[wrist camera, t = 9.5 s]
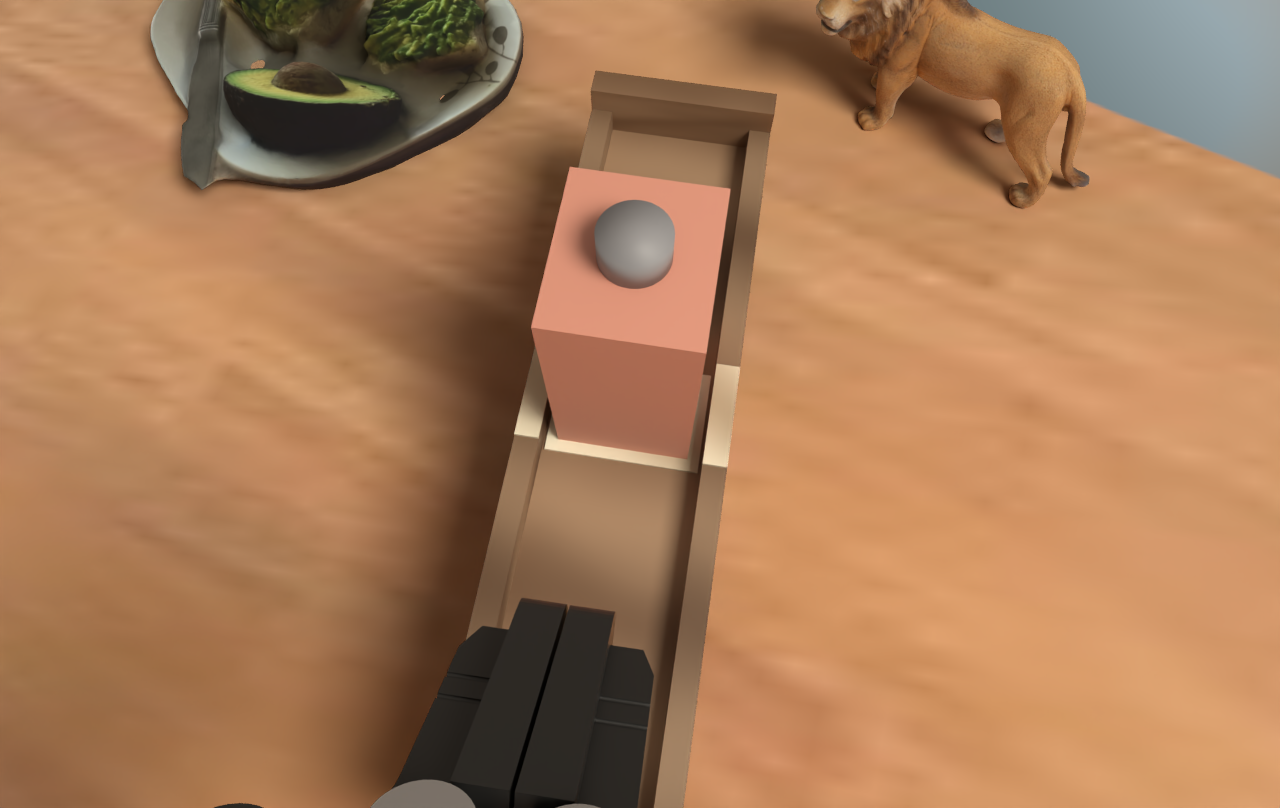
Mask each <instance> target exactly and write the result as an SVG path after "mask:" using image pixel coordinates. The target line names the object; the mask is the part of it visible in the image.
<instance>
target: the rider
mask: <svg viewBox="0 0 1280 808" xmlns="http://www.w3.org/2000/svg"><path fill="white" fill-rule="evenodd" d="M730 190H731V189H728V188H721V187H714V186H706V185H699V184H692V183H685V182H677V181H670V180H663V179H656V178H648V177H641V176H634V175H626V174H619V173H612V172H605V171H597V170H590V169H583V168H575V167H570V169H569V173H568V177H567V181H566V185H565V189H564V193H563V198H562V202H561V206H560V210H559V214H558V218H557V222H556V226H555V231H554V235H553V239H552V243H551V247H550V251H549V255H548V259H547V263H546V268H545V272H544V276H543V280H542V284H541V288H540V292H539V296H538V301H537V305H536V309H535V313H534V317H533V321H532V325H531V330H532V334H533V338H534V342H535V346H536V350H537V354H538V358H539V362H540V366H541V370H542V374H543V379H544V383H545V387H546V391H547V395H548V399H549V403H550V407H551V411H552V415H553V419H554V423H555V428H556V432H557V436H558V439H560V440H566V441H573V442H579V443H585V444H592V445H598V446H605V447H611V448H617V449H624V450H630V451H637V452H643V453H649V454H656V455H662V456H668V457H675V458H681V459H687V457H688V452H689V446H690V441H691V435H692V430H693V424H694V419H695V413H696V408H697V402H698V397H699V391H700V386H701V380H702V375H703V369H704V364H705V358H706V353H707V346H708V339H709V332H710V326H711V319H712V312H713V305H714V299H715V292H716V285H717V278H718V271H719V265H720V258H721V251H722V244H723V237H724V231H725V224H726V217H727V210H728V204H729V197H730Z"/></svg>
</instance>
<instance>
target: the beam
mask: <svg viewBox="0 0 1280 808" xmlns="http://www.w3.org/2000/svg"><path fill="white" fill-rule="evenodd" d="M776 97H777V94H771V93H764V92H756V91H748V90H741V89H733V88H725V87H718V86H710V85H702V84H695V83H687V82H679V81H672V80H664V79H656V78H649V77H641V76H633V75H626V74H618V73H610V72H603V71H595V75H594V79H593V83H592V88H591V101H592V112H591V116H590V120H589V124H588V128H587V133H586V137H585V141H584V145H583V149H582V154H581V158H580V162H579V166H578V168H583V169H590V170H597V171H605V172H612V173H619V174H626V175H634V176H641V177H648V178H656V179H663V180H670V181H677V182H685V183H692V184H699V185H706V186H714V187H721V188H728V189H731V190H730V197H729V204H728V210H727V217H726V224H725V231H724V237H723V244H722V251H721V258H720V265H719V271H718V278H717V285H716V292H715V299H714V305H713V312H712V319H711V326H710V332H709V339H708V346H707V353H706V358H705V364H704V369H703V375H702V380H701V386H700V391H699V397H698V402H697V408H696V413H695V419H694V424H693V430H692V435H691V441H690V446H689V452H688V457H687V459H681V458H675V457H668V456H662V455H656V454H649V453H643V452H637V451H630V450H624V449H617V448H611V447H605V446H598V445H592V444H585V443H579V442H573V441H566V440H560V439H558V436H557V432H556V428H555V423H554V419H553V415H552V411H551V407H550V403H549V399H548V395H547V391H546V387H545V383H544V379H543V374H542V370H541V366H540V362H539V358H538V354H537V350H536V346H535V348H534V352H533V356H532V361H531V365H530V369H529V373H528V377H527V382H526V386H525V390H524V394H523V398H522V403H521V407H520V411H519V415H518V419H517V424H516V428H515V432H514V440H513V444H512V448H511V452H510V456H509V461H508V465H507V469H506V473H505V477H504V482H503V486H502V490H501V494H500V498H499V503H498V507H497V511H496V515H495V519H494V524H493V528H492V532H491V536H490V540H489V545H488V549H487V553H486V557H485V561H484V566H483V570H482V574H481V578H480V582H479V587H478V591H477V595H476V599H475V604H474V608H473V612H472V616H471V620H470V625H469V629H468V633H467V637H466V640H467V639H468V638H469V637H470V636H471V635H472V634H473V633H475V632H476V631H477V630H478V629H479V628H480V627H481V626H489V627H495V628H502V629H509V627H510V624H511V622H512V619H513V617H514V614H515V611H516V609H517V606H518V604H519V601H520V600H521V598H528V599H535V600H542V601H549V602H555V603H562V604H567V605H568V609H569V607H570V605H574V606H581V607H588V608H595V609H601V610H608V611H615V612H616V617H615V627H614V637H613V645H614V646H621V647H627V648H634V649H641V650H644V652H645V655H646V657H647V660H648V662H649V664H650V667H651V669H652V672H653V674H654V680H653V688H652V696H651V704H650V712H649V720H648V728H647V736H646V743H645V751H644V759H643V767H642V775H641V783H640V791H639V799H638V807H637V808H683V806H684V798H685V790H686V783H687V775H688V767H689V759H690V752H691V744H692V736H693V728H694V721H695V713H696V705H697V697H698V689H699V682H700V674H701V666H702V658H703V651H704V643H705V635H706V627H707V620H708V612H709V604H710V596H711V589H712V581H713V573H714V565H715V557H716V550H717V542H718V534H719V526H720V519H721V511H722V503H723V495H724V488H725V480H726V472H727V466H728V458H729V451H730V443H731V435H732V427H733V419H734V412H735V404H736V396H737V388H738V381H739V373H740V363H741V356H742V348H743V340H744V332H745V324H746V317H747V309H748V301H749V293H750V286H751V278H752V270H753V262H754V255H755V247H756V239H757V231H758V223H759V216H760V208H761V200H762V192H763V185H764V177H765V169H766V161H767V154H768V146H769V138H770V131H771V127H772V122H773V118H774V112H775V104H776Z"/></svg>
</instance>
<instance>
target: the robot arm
mask: <svg viewBox="0 0 1280 808" xmlns="http://www.w3.org/2000/svg"><path fill="white" fill-rule="evenodd" d="M615 617H616V612H615V611H608V610H601V609H595V608H588V607H581V606H574V605H570V607H569V609H568V605H567V604H562V603H555V602H549V601H542V600H535V599H528V598H521V600H520V601H519V604H518V606H517V609H516V611H515V614H514V617H513V619H512V622H511V624H510V627H509V629H502V628H495V627H489V626H481V627H480V628H479V629H478V630H477V631H476V632H475V633H473V634H472V635H471V636H470V637H469V638H468V639H467V640H465V641H464V642H463V643H462V644H461V645H460V646H459V647H458V650H457V652H456V654H455V656H454V658H453V661H452V663H451V665H450V667H449V669H448V671H447V676H446V677H445V678H444V680H443V682H442V685H441V687H440V689H439V691H438V695H437V698H435V700H434V702H433V704H432V706H431V709H430V711H429V713H428V715H427V717H426V720H425V722H424V724H423V726H422V728H421V731H420V733H419V735H418V737H417V739H416V741H415V744H414V746H413V748H412V750H411V752H410V755H409V757H408V759H407V761H406V763H405V765H404V768H403V770H402V772H401V774H400V776H399V778H398V780H397V782H396V784H395V785H394V787H393V788H392V789H391V790H390V791H388V792H386V793H385V794H384V795H382V796H381V797H380V798H379V799H378V800H377V801H376V802H375V803H374V804H373V805H372V806H371V807H370V808H637V807H638V799H639V791H640V783H641V775H642V767H643V759H644V751H645V743H646V736H647V728H648V720H649V712H650V704H651V696H652V688H653V680H654V674H653V672H652V669H651V667H650V664H649V662H648V660H647V657H646V655H645V652H644V650H641V649H634V648H627V647H621V646H614V645H613V637H614V627H615ZM215 808H262V807H260V806H257V805H252V804H243V803H237V804H227V805H222V806H218V807H215Z"/></svg>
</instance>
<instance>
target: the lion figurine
mask: <svg viewBox="0 0 1280 808" xmlns="http://www.w3.org/2000/svg"><path fill="white" fill-rule="evenodd" d="M816 13H817V15H818V17H820V18H821V19H822V20H821V29H822V31H823V32H824V33H825V34H827V35H831V36H832V35H835V34H837V33H838V35H839V36H840V37H843V38H846V39H848V40H850V46H851V52H852V53H853V54H854V55H855V56H857V57H858V58H860V59H861V60H864V61H869V63H870V65H875V66H878V72H875V73H874V74H873V77H872V79H871V85H872V86H873V87H874V88H876V106H875V107H869V106H868V107H866V108H864V110H861V111H860V112H859V113H858V118H859V119H858V122H859V124H860V125H861V126H862V128H863V129H864V130H875V129H878V128H881V127H882V126H884V125H885V124H886V122H887V121H888V120H889V119H890V118H892V116H893V114H894V108H895V104H896V102H897V100H898V98H899V96H900V95H901V94H902V93H903V91H904V90H905V89H906V88H907V87H909V86H910V85H911V84H912V83H913V82H914V81H915V79H916V78H917V76H919V77H921V78H922V79H923V80H925V81H927V82H928V83H930V84H932V85H933V86H935V87H937V88H939V89H940V90H942V91H944V92H947V93H949V94H952V95H955V96H958V97H962V98H966V99H972V100H984V99H994V100H995V101H997V102H998V103H999V105H1000V109H1001V120H1000V119H995V120H993V121H991V122H989V123H988V125H987V126H986V128H985V134H986V135H987V137H988V138H990V139H991V140H993V141H995V142H997V143H1001V142H1006V144H1007V146H1008V149H1009V151H1010V152H1011V154H1012V155H1013V157H1014V159H1015V160H1016V162H1017V163H1018V165H1019V167H1020V168H1021V170H1022V171H1023V172H1024V174H1025V176H1026V178H1027V180H1028V183H1029V184H1027V183H1022V182H1021V183H1018V184H1015V185H1013V186H1011V188H1010V189H1009V193H1010V194H1009V199H1010V201H1011V203H1012V204H1014V205H1015V206H1017V207H1021V208H1027V207H1030V206H1032V205H1034V204H1035V203H1036V202H1037V201H1038V200H1039V199H1040V198H1041V196H1042V195H1043V194H1044V192H1045V189H1046V187H1047V185H1048V183H1049V180H1050V178H1051V175H1052V172H1053V170H1052V168H1051V166H1050V164H1049V162H1048V160H1047V156H1046V141H1047V137H1048V134H1049V132H1050V129H1051V128H1052V126H1053V124H1054V122H1055V121H1056V119H1057V117H1058V116H1059V114H1060V112H1061V110H1062V111H1068V121H1067V127H1066V132H1065V138H1064V144H1063V148H1062V153H1061V164H1060V165H1061V171H1062V173H1063V176H1064V178H1065V180H1066V181H1067V182H1069V183H1070V184H1071V185H1072V186H1073V187H1074V186H1080V187H1084V186H1087V185H1088V184H1089V176H1088V175H1086V174H1085V173H1083V172H1081V171H1079V170H1077V169H1075V168H1074V167H1073V164H1072V162H1073V158H1074V155H1075V152H1076V148H1077V145H1078V143H1079V140H1080V137H1081V133H1082V129H1083V125H1084V121H1085V114H1086V93H1085V88H1084V85H1083V82H1082V79H1081V76H1080V68H1079V65H1078V63H1077V61H1076V60H1075V58H1074V57H1073V56H1072V54H1071V53H1070V52H1069V51H1068V50H1067V48H1066V47H1065V46H1064V45H1063V44H1062V43H1061V42H1060V41H1058V40H1057V39H1055V38H1053V37H1051V36H1047V35H1043V34H1039V33H1035V32H1031V31H1027V30H1024V29H1020V28H1017V27H1014V26H1012V25H1009V24H1007V23H1005V22H1002V21H1000V20H998V19H996V18H994V17H992V16H990V15H988V14H986V13H985V12H983V11H981V10H979V9H977V8H975V7H972V6H971V5H970V4H969V3H968V1H967V0H820V1H819V3H818V4H817V7H816Z"/></svg>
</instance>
